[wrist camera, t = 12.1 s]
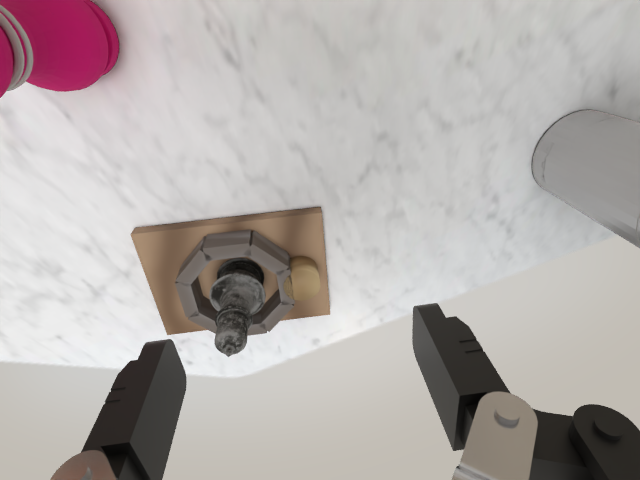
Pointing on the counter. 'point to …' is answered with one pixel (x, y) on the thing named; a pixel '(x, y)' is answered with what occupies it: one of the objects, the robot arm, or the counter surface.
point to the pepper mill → (54, 44)
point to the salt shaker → (236, 302)
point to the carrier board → (227, 243)
